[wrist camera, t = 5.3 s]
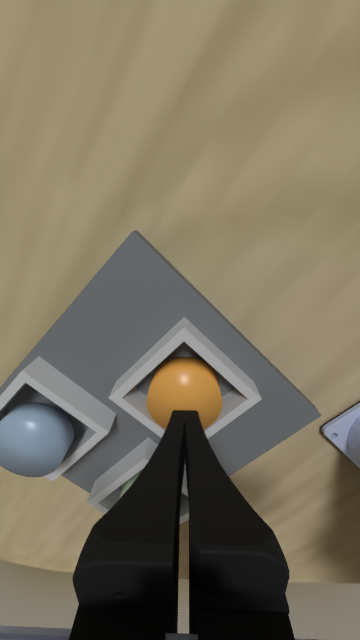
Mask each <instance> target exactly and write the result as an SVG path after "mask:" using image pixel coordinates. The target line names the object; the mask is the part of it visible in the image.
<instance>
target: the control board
mask: <svg viewBox="0 0 360 640" xmlns="http://www.w3.org/2000/svg"><path fill="white" fill-rule="evenodd" d="M176 357H192V358H196V359H199V360H201V361H203V362H205V363H206V364H208V365H209V366H210V367H211V368H212V369H213V370H214V372H215V373H216V375H217V378H218V381H219V386H220V391H221V396H222V409H221V412H220V415H219V416H218V418H217V419H216V420H215V422H214V423H212V424H211V425H210V426H209V427H207V428H205V429H203V430H204V432H205V435H206V437H207V439H208V441H209V443H210V445H211V447H212V450H213V451H214V453H215V455H216V457H217V459H218V461H219V462H220V464H221V466H222V467H223V469H224V470H225V472H226V474H227V475H228V477H229V476H230V475H232V474H233V473H235V472H236V471H238V470H239V469H241V468H242V467H244V466H245V465H247V464H248V463H250V462H251V461H253V460H254V459H256V458H258V457H259V456H261V455H262V454H264V453H265V452H267V451H268V450H270V449H271V448H273V447H274V446H276V445H277V444H279V443H280V442H282V441H283V440H285V439H287V438H288V437H290V436H291V435H293V434H294V433H296V432H297V431H299V430H300V429H302V428H303V427H305V426H306V425H308V424H309V423H311V422H312V421H314V420H316V419H317V418H319V417H320V416H321V414H320V413H319V412H318V410H317V409H316V408H315V406H314V405H313V404H312V403H311V402H310V401H309V400H308V399H307V398H306V397H305V396H304V395H303V394H302V393H301V392H300V391H299V390H298V389H297V388H296V387H295V386H294V385H293V384H292V383H291V382H290V381H289V380H288V379H287V378H286V377H285V376H284V375H283V374H282V373H281V372H280V371H279V370H278V369H277V368H276V367H275V366H274V365H273V364H272V363H271V362H270V361H269V360H268V359H267V358H266V357H265V356H264V355H263V354H262V353H261V352H260V351H259V350H258V349H257V348H256V347H255V346H254V345H253V344H251V343H250V342H249V341H248V340H247V339H246V338H245V337H244V336H243V335H242V334H241V333H240V332H239V331H238V330H237V329H236V328H235V327H234V326H233V325H232V324H231V323H230V322H229V321H228V320H227V319H226V318H225V317H224V316H223V315H222V314H221V313H220V312H219V311H218V310H217V309H216V308H215V307H214V306H213V305H212V304H211V303H210V302H209V301H208V300H207V299H206V298H205V297H204V296H203V295H202V294H201V293H200V292H199V291H198V290H197V289H196V288H195V287H194V286H193V285H192V284H191V283H190V282H189V281H188V280H187V279H186V278H185V277H184V276H183V275H182V274H181V273H180V272H179V271H178V270H177V269H176V268H175V267H173V266H172V265H171V264H170V263H169V262H168V261H167V260H166V259H165V258H164V257H163V256H162V255H161V254H160V253H159V252H158V251H157V250H156V249H155V248H154V247H153V246H152V245H151V244H150V243H149V242H148V241H147V240H146V239H145V238H144V237H143V236H142V235H141V234H140V233H139V232H138V231H132V233H131V234H130V235H129V236H128V237H127V238H126V240H125V241H124V242H123V243H122V244H121V245H120V247H119V248H118V249H117V250H116V251H115V253H114V254H113V255H112V256H111V257H110V258H109V260H108V261H107V262H106V263H105V264H104V266H103V267H102V268H101V269H100V270H99V271H98V273H97V274H96V275H95V276H94V277H93V279H92V280H91V281H90V282H89V283H88V284H87V286H86V287H85V288H84V289H83V290H82V292H81V293H80V294H79V295H78V296H77V297H76V299H75V300H74V301H73V302H72V303H71V304H70V306H69V307H68V308H67V309H66V310H65V312H64V313H63V314H62V315H61V316H60V317H59V319H58V320H57V321H56V322H55V323H54V325H53V326H52V327H51V328H50V329H49V330H48V332H47V333H46V334H45V335H44V336H43V338H42V339H41V340H40V341H39V342H38V343H37V345H36V346H35V347H34V348H33V349H32V351H31V352H30V353H29V354H28V355H27V356H26V358H25V359H24V360H23V361H22V362H21V363H20V365H19V366H18V367H17V368H16V369H15V371H14V372H13V373H12V374H11V375H10V376H9V378H8V379H7V380H6V381H5V382H4V384H3V385H2V386H1V387H0V421H1V420H2V419H3V418H4V417H5V416H6V415H7V414H8V413H9V412H10V411H11V410H12V409H13V408H14V407H16V406H18V405H20V404H23V403H27V402H39V403H44V404H47V405H50V406H52V407H54V408H56V409H58V410H59V411H61V412H62V413H63V414H64V415H65V416H66V417H67V418H68V419H69V421H70V422H71V424H72V426H73V430H74V438H73V441H72V443H71V445H70V447H69V449H68V451H67V453H66V454H65V456H64V458H63V460H62V462H61V464H60V465H59V467H58V468H57V469H56V470H55V471H54V472H52V473H50V474H48V475H46V476H44V477H46V478H47V479H49V480H51V481H52V482H53V481H54V480H55V479H56V478H58V477H59V476H60V475H62V476H63V477H65V478H67V479H68V480H70V481H71V482H73V483H75V484H76V485H78V486H79V487H81V488H83V489H84V490H86V491H87V492H89V493H90V496H89V499H88V501H87V503H88V504H90V505H91V506H93V507H94V508H96V509H98V510H99V511H101V512H103V513H104V514H106V513H107V512H108V511H109V510H110V509H111V508H112V507H113V506H114V505H115V503H116V502H117V501H118V500H119V497H120V493H121V489H122V485H123V483H125V482H126V481H127V480H129V479H130V478H131V477H133V476H134V475H135V474H137V473H138V472H139V471H140V470H142V469H144V467H145V466H146V464H147V463H148V461H149V460H150V458H151V456H152V455H153V453H154V451H155V449H156V448H157V446H158V444H159V442H160V440H161V438H162V436H163V434H164V432H165V430H166V429H165V428H163V427H161V426H160V425H159V424H157V423H156V422H155V421H154V420H153V418H152V417H151V416H150V414H149V412H148V408H147V395H148V391H149V386H150V382H151V378H152V375H153V374H154V372H155V370H156V369H157V368H158V367H159V366H160V365H161V364H162V363H164V362H166V361H167V360H170V359H173V358H176ZM187 520H189V503H188V491H187V478H186V465H184V475H183V485H182V495H181V504H180V525H181V524H182V523H184V522H185V521H187Z"/></svg>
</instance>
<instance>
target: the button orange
mask: <svg viewBox="0 0 360 640" xmlns="http://www.w3.org/2000/svg"><path fill="white" fill-rule="evenodd" d="M147 408H148V412H149V414H150V416H151V417H152V418H153V420H154V421H155V422H156V423H157V424H159V425H160V426H161V427H163V428H165V429H166V428H167V425H168V423H169V420H170V417H171V413H172V411H173V410H196V411H198V413H199V418H200V421H201V424H202V427H203V429H205V428H207V427H209V426H210V425H211V424H212V423H214V422H215V420H216V419H217V418H218V416H219V415H220V412H221V409H222V396H221V391H220V386H219V381H218V378H217V375H216V373H215V372H214V370H213V369H212V368H211V367H210V366H209V365H208V364H206V363H205V362H203V361H201V360H199V359H196V358H192V357H176V358H173V359H170V360H167V361H166V362H164V363H162V364H161V365H160V366H159V367H158V368H157V369H156V370H155V372H154V374H153V375H152V378H151V382H150V386H149V391H148V395H147Z"/></svg>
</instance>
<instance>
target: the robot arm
mask: <svg viewBox="0 0 360 640" xmlns="http://www.w3.org/2000/svg"><path fill="white" fill-rule="evenodd" d="M322 432H323V433H324V435H325V436H326V437H327V438H328V439H329V440H330V441H331V442H333V443H334V444H335V445H336V446H337V447H338V448H339V449H340V450H341V451H342V452H343V453H344V454H345V455H346V456H347V457H348V458H349V459H350V460H351V461H352V462H353V463H354V464H356V465H357V466H358V467H359V468H360V403H358V404H357V405H355V406H353V407H352V408H350V409H349V410H347V411H346V412H344V413H343V414H341V415H339V416H338V417H336V418H335V419H333V420H332V421H330V422H328V423H327V424H325V425H324V426H323V427H322ZM333 433H334V434H333ZM184 465H186V478H187V491H188V503H189V634H179V633H177V621H178V617H177V616H178V572H179V527H180V504H181V495H182V485H183V475H184ZM288 580H289V569H288V565H287V562H286V559H285V557H284V554H283V552H282V549H281V547H280V545H279V543H278V540H277V538H276V536H275V534H274V532H273V530H272V529H271V528H270V527H269V526H268V525H267V524H266V523H265V522H264V521H263V520H262V519H261V517H260V516H259V515H258V514H257V513H256V512H255V511H254V509H253V508H252V507H251V506H250V505H249V503H248V502H247V501H246V500H245V498H244V497H243V496H242V495H241V493H240V492H239V491H238V489H237V488H236V487H235V485H234V484H233V483H232V481H231V480H230V478H229V477H228V475H227V474H226V472H225V470H224V469H223V467H222V466H221V464H220V462H219V461H218V459H217V457H216V455H215V453H214V451H213V450H212V447H211V445H210V443H209V441H208V439H207V437H206V435H205V432H204V430H203V427H202V424H201V421H200V418H199V413H198V411H196V410H173V411H172V413H171V417H170V420H169V423H168V425H167V428H166V430H165V432H164V434H163V436H162V438H161V440H160V442H159V444H158V446H157V448H156V449H155V451H154V453H153V455H152V456H151V458H150V460H149V461H148V463H147V464H146V466H145V467H144V469H143V470H142V472H141V473H140V474H139V476H138V477H137V478H136V480H135V481H134V482H133V484H132V485H131V486H130V487H129V489H128V490H127V491H126V492H125V493H124V494H123V495H122V497H121V498H120V499H119V500H118V501H117V502H116V503H115V505H114V506H113V507H112V508H111V509H110V510H109V511H108V512H107V513H106V514H105V515H104V516H103V517H102V518H101V519H100V520H99V521H98V522H97V523H96V524H95V525H94V526H93V528H92V530H91V532H90V534H89V536H88V538H87V540H86V542H85V544H84V547H83V549H82V551H81V554H80V557H79V560H78V563H77V566H76V569H75V572H74V575H73V584H74V588H75V592H76V595H77V599H78V602H79V606H78V610H77V613H76V616H75V620H74V623H73V627H72V629H63V628H40V627H17V626H0V640H316V639H294V635H293V631H292V627H291V623H290V620H289V616H288V614H289V606H288V603H287V599H286V595H285V592H286V588H287V584H288Z"/></svg>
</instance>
